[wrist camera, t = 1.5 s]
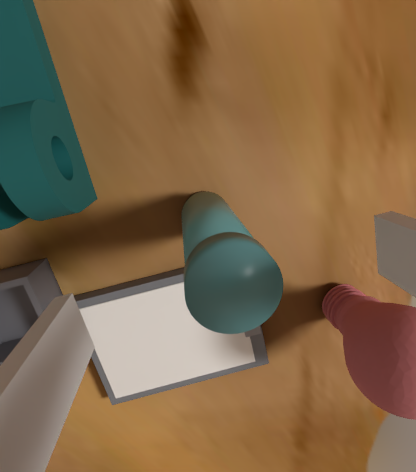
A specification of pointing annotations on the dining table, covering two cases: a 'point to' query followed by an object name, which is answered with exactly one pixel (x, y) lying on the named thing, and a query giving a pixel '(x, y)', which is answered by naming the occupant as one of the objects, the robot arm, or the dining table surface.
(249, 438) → the dining table surface
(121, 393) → the clipboard
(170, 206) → the dining table surface
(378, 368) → the light bulb
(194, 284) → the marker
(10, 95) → the bracket
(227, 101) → the dining table surface
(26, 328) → the pen holder
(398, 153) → the dining table surface
